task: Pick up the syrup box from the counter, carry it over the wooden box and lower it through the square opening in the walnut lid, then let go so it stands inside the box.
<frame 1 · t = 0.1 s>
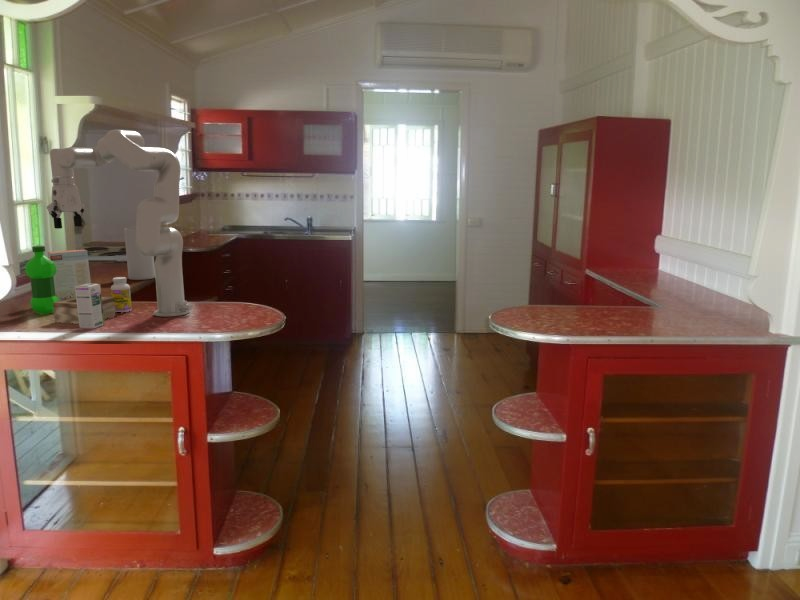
hand: (68, 227, 263), 31 cm above the countertop, tool pointing down, fingers open, 9 cm apart
plastic bottle: (45, 313, 259), on the countertop
supplement bottle: (122, 312, 259), on the countertop
cylinder vase: (142, 278, 341), on the countertop
syrup box: (92, 327, 234), on the countertop
cracker box: (73, 302, 281), on the countertop
wooden box: (85, 319, 246), on the countertop
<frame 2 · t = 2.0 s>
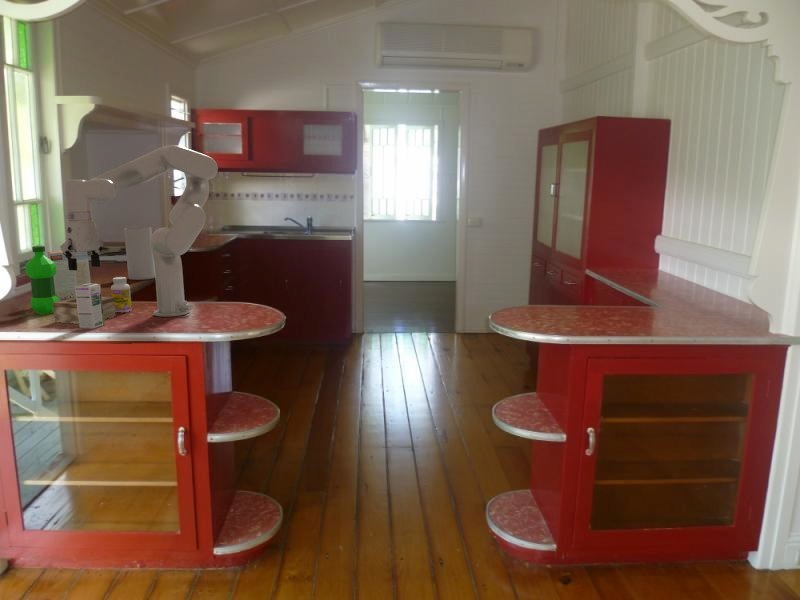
hand: (84, 268, 231), 20 cm above the countertop, tool pointing down, fingers open, 9 cm apart
nothing on the countertop moved.
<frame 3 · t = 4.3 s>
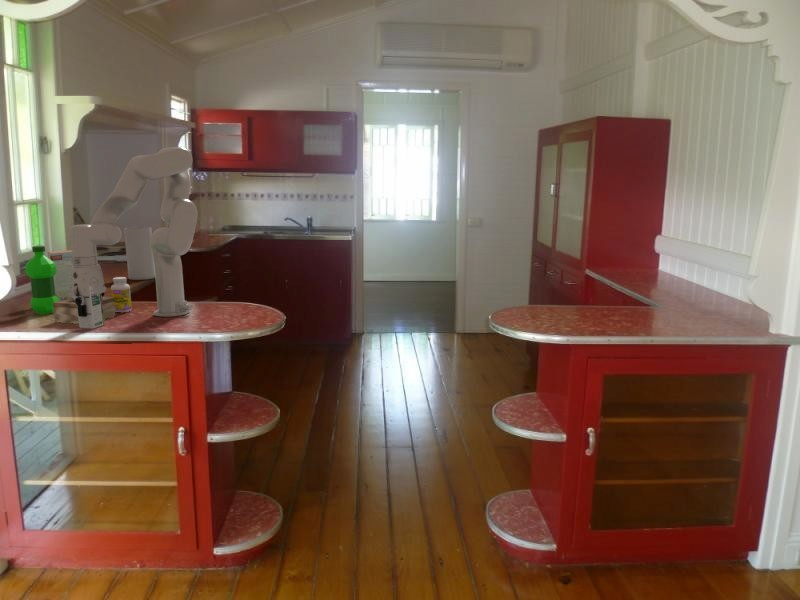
hand: (90, 313, 233), 4 cm above the countertop, tool pointing down, fingers closed on syrup box, 6 cm apart
syrup box: (91, 327, 234), on the countertop, touching gripper
everything else where it was.
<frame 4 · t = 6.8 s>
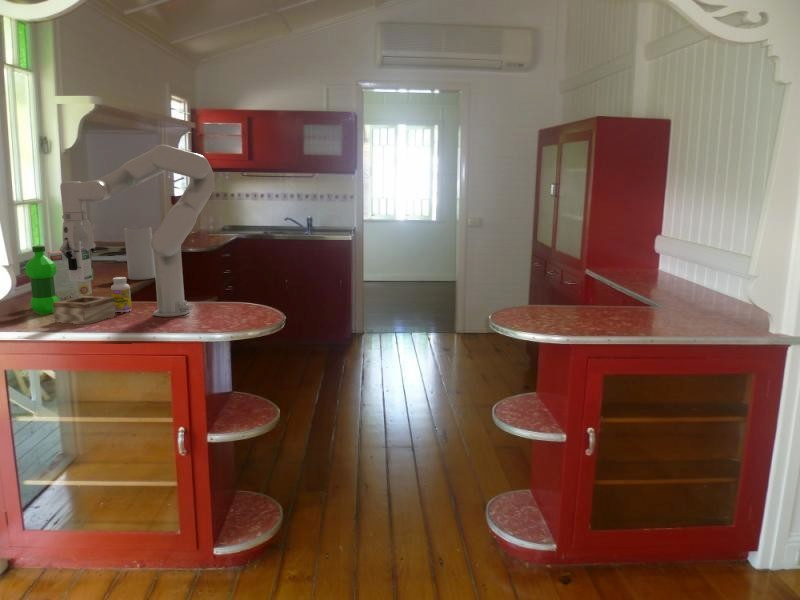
hand: (80, 268, 242), 18 cm above the countertop, tool pointing down, fingers closed on syrup box, 6 cm apart
syrup box: (81, 281, 243), point 14 cm above the countertop, touching gripper
everything else where it was.
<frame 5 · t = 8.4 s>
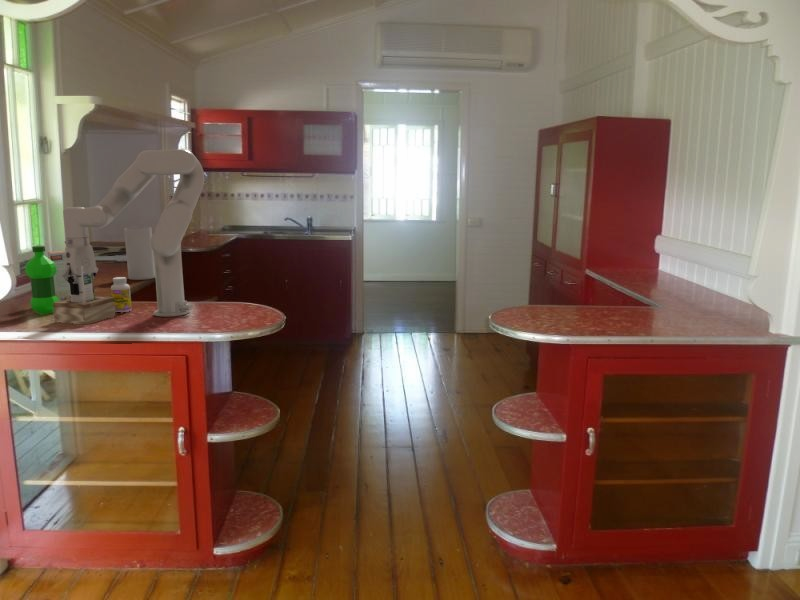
hand: (82, 292, 244), 10 cm above the countertop, tool pointing down, fingers closed on syrup box, 6 cm apart
syrup box: (83, 305, 245), point 5 cm above the countertop, touching gripper
everything else where it was.
when the fingers open (8 cm above the countertop, at t = 9.7 s): syrup box drops 2 cm, resting on wooden box.
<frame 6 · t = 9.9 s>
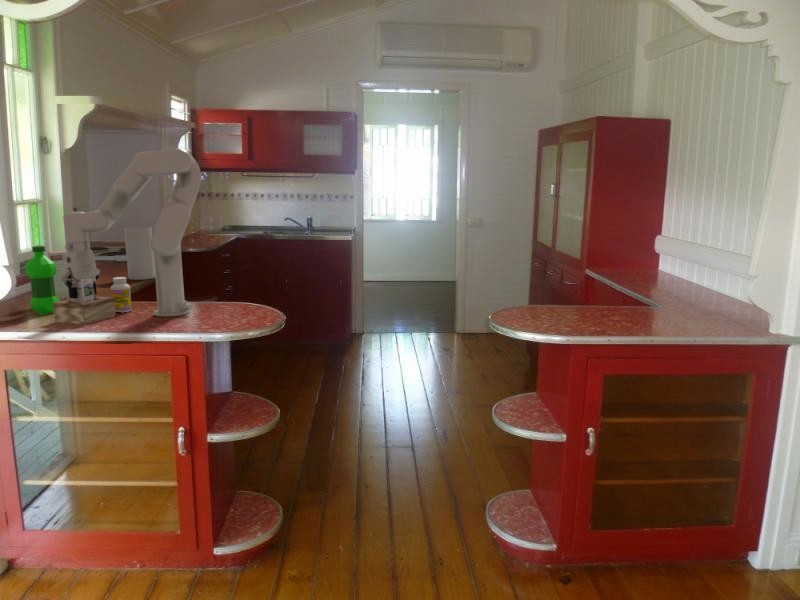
hand: (83, 295, 244), 9 cm above the countertop, tool pointing down, fingers open, 8 cm apart
syrup box: (85, 316, 246), point 1 cm above the countertop, touching wooden box
everything else where it was.
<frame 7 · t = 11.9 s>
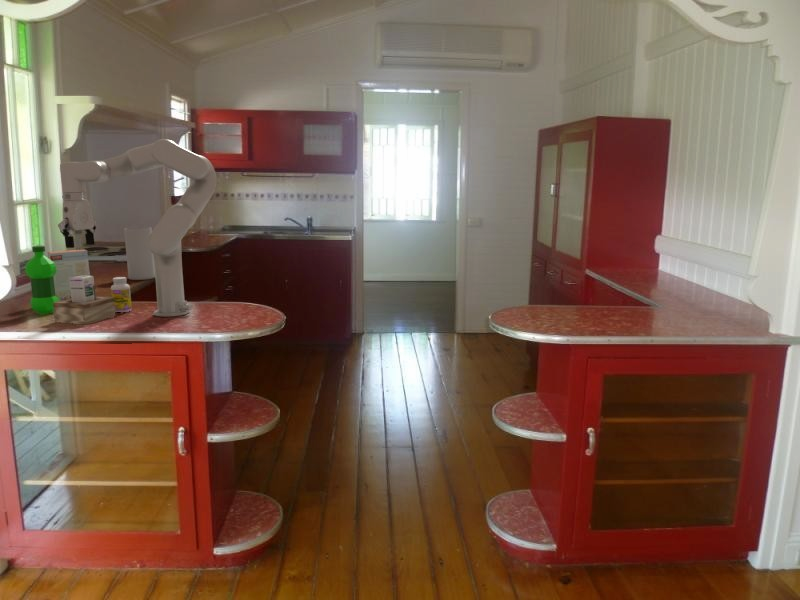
hand: (80, 246, 244), 26 cm above the countertop, tool pointing down, fingers open, 9 cm apart
nothing on the countertop moved.
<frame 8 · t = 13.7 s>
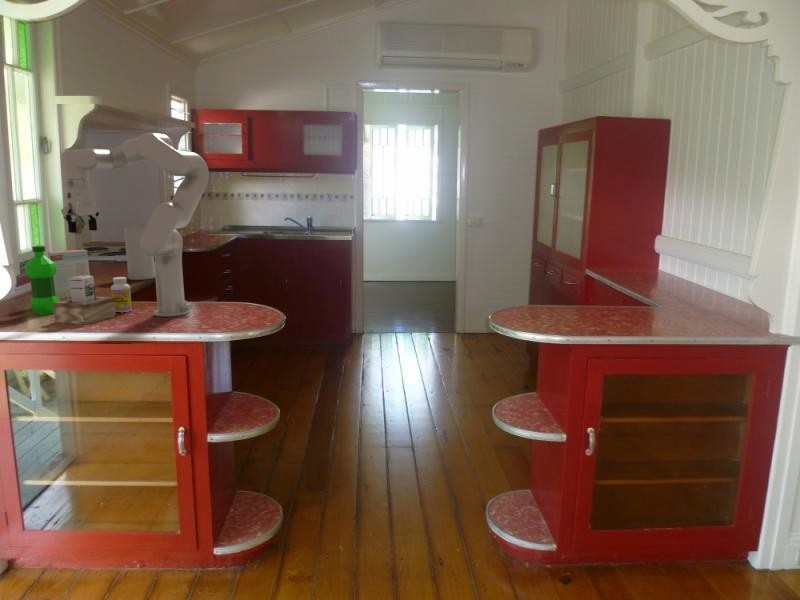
hand: (83, 231, 253), 30 cm above the countertop, tool pointing down, fingers open, 9 cm apart
nothing on the countertop moved.
at the end: syrup box 0.1 cm off-centre on the wooden box, point 0.8 cm above the wooden box's base; syrup box tilted 0°; the gripper is holding nothing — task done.
